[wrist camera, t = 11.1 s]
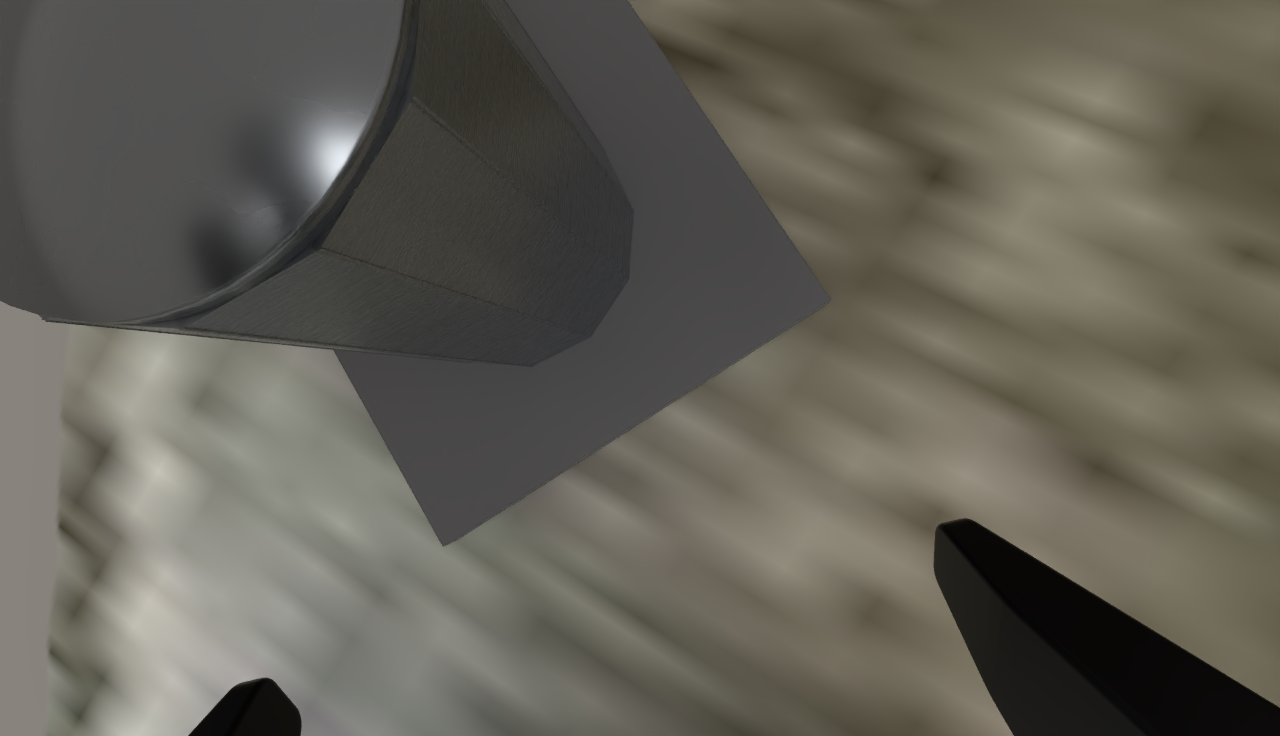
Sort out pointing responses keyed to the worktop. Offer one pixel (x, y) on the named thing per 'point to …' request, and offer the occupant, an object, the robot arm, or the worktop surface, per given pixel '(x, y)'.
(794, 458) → the worktop surface
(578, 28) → the rubber mat
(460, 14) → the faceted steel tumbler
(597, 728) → the worktop surface
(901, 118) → the worktop surface
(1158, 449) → the worktop surface
